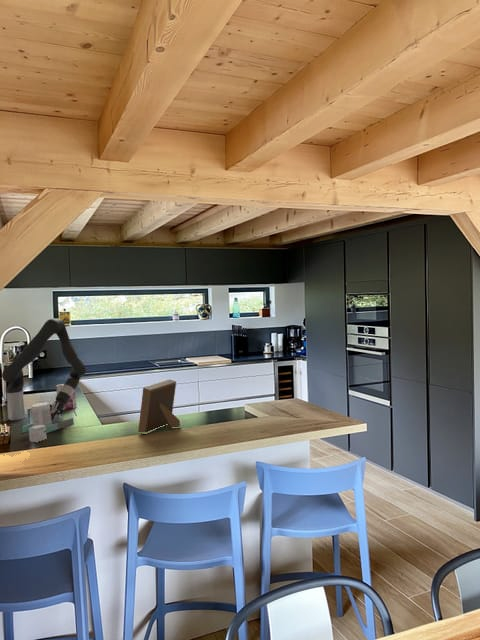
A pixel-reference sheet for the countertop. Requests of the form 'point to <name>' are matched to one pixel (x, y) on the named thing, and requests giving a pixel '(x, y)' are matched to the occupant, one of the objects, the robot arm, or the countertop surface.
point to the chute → (52, 425)
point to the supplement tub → (41, 414)
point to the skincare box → (37, 433)
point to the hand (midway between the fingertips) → (49, 420)
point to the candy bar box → (72, 401)
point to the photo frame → (158, 406)
